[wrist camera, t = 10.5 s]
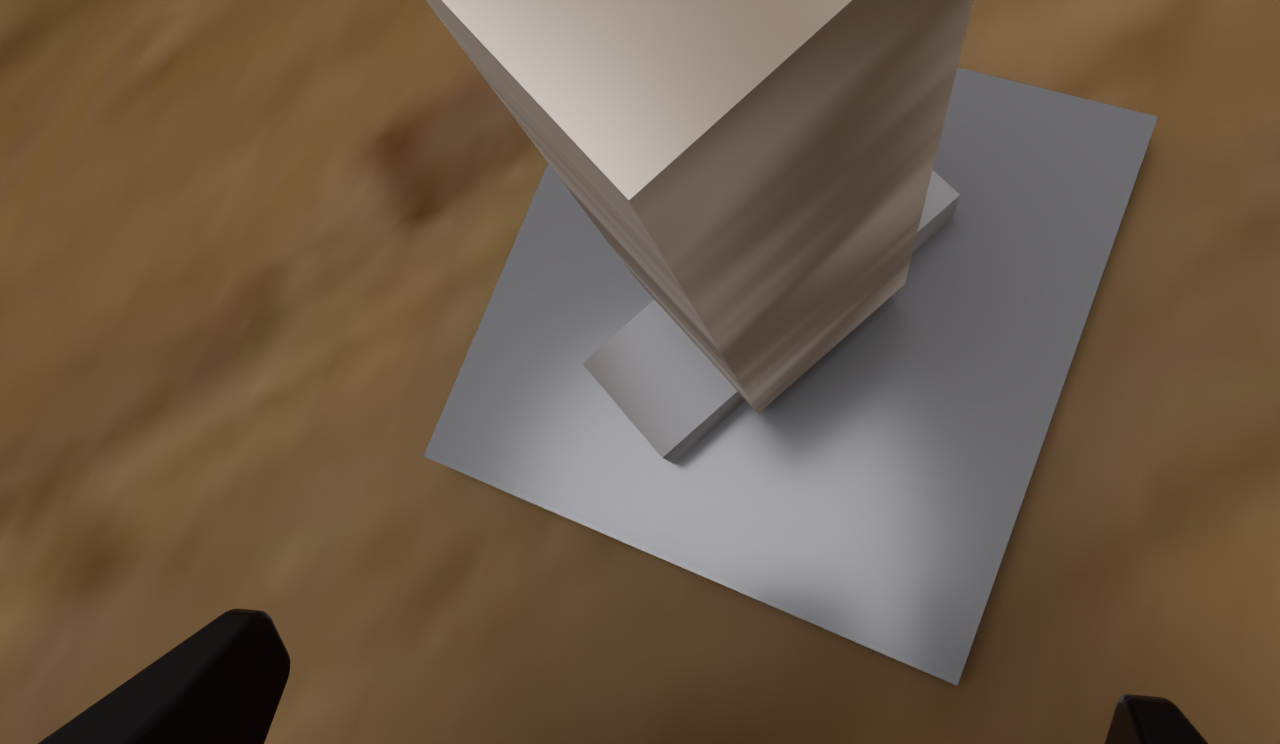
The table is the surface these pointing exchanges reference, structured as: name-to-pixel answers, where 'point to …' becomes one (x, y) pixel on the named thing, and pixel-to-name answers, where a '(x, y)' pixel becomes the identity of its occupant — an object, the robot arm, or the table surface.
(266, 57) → the table surface
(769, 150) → the upright block on base
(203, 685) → the robot arm
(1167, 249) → the table surface
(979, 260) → the slate plate
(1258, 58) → the table surface
